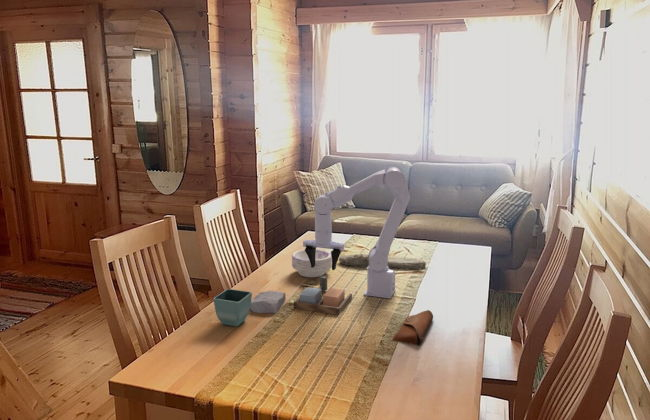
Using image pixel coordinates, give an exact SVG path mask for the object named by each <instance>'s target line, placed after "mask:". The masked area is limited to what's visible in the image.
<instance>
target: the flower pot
mask: <svg viewBox="0 0 650 420" xmlns="http://www.w3.org/2000/svg"><path fill="white" fill-rule="evenodd" d="M252 296H253V292H252V291H246V290H240V289H233V288H227V289H225V290H223V291H222V292H220V293H219V294H217V295H216V296H214V297H213V299H212V300H213V305H214V311H215V314H216V317H217V318H218V320H219V321H220V323H221V324H222V325H225V326H231V327H235V328H236V327H238V326H239V327H240V325H241V324H242V323H243V322H244V321H246V319H247V317H248V315H249V314H250V310H251V308H250V307H251V301H252V300H253V299H252Z"/></svg>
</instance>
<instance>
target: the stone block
mask: <svg viewBox="0 0 650 420" xmlns="http://www.w3.org/2000/svg"><path fill="white" fill-rule="evenodd" d="M285 301H286V293H285V292H281V291H277V290H267V291H262V292H259V293H258V294H257V295H256V296H254V297H253V299H251V307H250V310H251V312H253V313H258V314H259V313H260V314H264V313H265V314H276V313H278V312H279V310H280V308H281V307H282V306H283V305H284V303H285Z"/></svg>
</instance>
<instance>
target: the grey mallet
mask: <svg viewBox="0 0 650 420" xmlns="http://www.w3.org/2000/svg"><path fill="white" fill-rule="evenodd" d="M327 291H328V277H327V276H326V275H322V276H319V286H318V287H317V288H315V287H308V286H307V287H306V288H305V289H304V290H303V291H302V292H301V293H299V298H300V302H305V303H312V304H317V303H318V302H319V301H320V300H321V299H322V298H323V295H322V292H327Z"/></svg>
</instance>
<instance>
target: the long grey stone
mask: <svg viewBox="0 0 650 420" xmlns="http://www.w3.org/2000/svg"><path fill="white" fill-rule="evenodd" d="M387 260H388V264H387V266H388V269H402V270H403V269H405V270H421V269H425V268H426V266H427V265H426V264H427V263H426V261H425V260H421V259H417V258H405V257H393V256H392V257H391V256H389V257H388V258H387ZM338 262H339V263H340V264H342V265H346V266H352V267H359V268H368V266H369V253H368V254H366V253H365V254H363V253H362V254H361V253H360V254H350V255H344V254H343V255H339V258H338Z"/></svg>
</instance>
